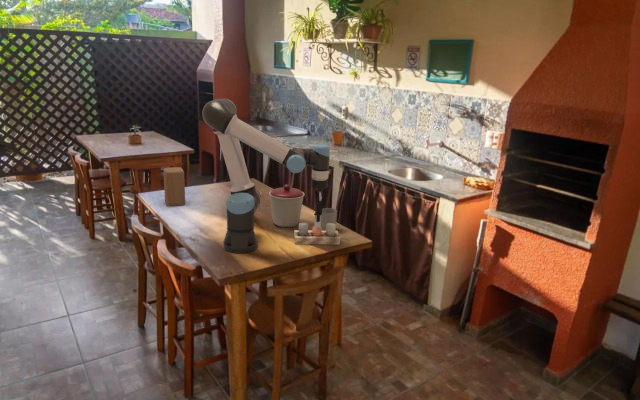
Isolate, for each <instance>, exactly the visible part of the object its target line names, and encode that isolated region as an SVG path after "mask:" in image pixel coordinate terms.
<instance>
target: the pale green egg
mask: <svg viewBox="0 0 640 400" xmlns="http://www.w3.org/2000/svg"><path fill="white" fill-rule="evenodd" d="M335 229H337V223H336V224H334V223H327V224H326V235H327V236H335Z"/></svg>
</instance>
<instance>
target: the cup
mask: <svg viewBox="0 0 640 400" xmlns="http://www.w3.org/2000/svg"><path fill="white" fill-rule="evenodd" d="M337 217H338V210H337V209H335V208H330V207H329V208H328V207H325V208H323V207H322V215H321V226H320V227H322V231H326V224H327V223H334V224H336V225H337ZM336 229H337V228H336ZM336 229H335V230H336ZM336 231H337V230H336Z"/></svg>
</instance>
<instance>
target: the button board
mask: <svg viewBox="0 0 640 400" xmlns="http://www.w3.org/2000/svg"><path fill="white" fill-rule="evenodd" d="M293 233H294V234H293V239H294V244H295V245H339V244H341V237H340V234H339V231H338V230H336V231H335V236H327V235H326V231H322V235H321V236H312V229H311V230H310V229H308V235H306V236H301V235H299V229H298V230H297V229H294V230H293Z"/></svg>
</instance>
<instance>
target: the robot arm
mask: <svg viewBox="0 0 640 400" xmlns="http://www.w3.org/2000/svg"><path fill="white" fill-rule="evenodd" d="M201 113H202V114H201V115H202V116H201V117H202V119H203V121H204V123H205V124H206V125H207V126H209V127H210V128H211V129H212V132H213V134H215V135H216V136H217V138H218V141H219V144H220V148H221V151H222V155H223V159H224V163H225V166H226V171H227V174H228V176H229V177H228V178H229V180H230V184H231V188H229V192H230V195H229V196H228V198H227V199H226V232H225V236H224V237H223V238H224V239H223V243H222V247H223V249H224V250H225V251H226V252H229V253H233V254H244V253H245V254H246V253H250V252H254V251H255V250H257V248H258V243H259V242H258V239H257V236H256V233H255V229H254V228H255V215H256V213H257V210H258V209H259V207H260V205H261V195H260V193H259V192H258V190H257V189H256V185H255V183H254V182H253V181H251V179H250V176H249V175H250V174H249V172H248V168H247V165H246V162H245V161H246V160H245V156H244V153H243V149H242V145H241V143H240V142H242V143H243V144H245V145H247V146H249V147H251V148H253V149H254V150H256V151H258V152H259V153H261V154H263V155H265V156H267V157H268V158H270V159H272V160H274V161H276V162H278V163H280V164H281V165H282V166H284V167H285V168H287V169H288V171H289V172H290V173H293V174H298V173H299V174H300V173H301V172H302V171H304V169H305V167H306V166H311V178H312V179H311V183H310V184H311V188H313V189H314V213H313V215H314V226H313V227H315V228H320V226H321V215H322V209H323V206H324V205H323V203H324V196H325V192H324V189H327V188H328V187H329V175H330V171H329V170H330V155H331V154H330V151H331V148H330V146H329V145H327V144H323V143H322V144H321V143H319V144H314V145H313V147H312V148H301V147H300V148H298V147H288V146H287V145H285V144H283V143H281V142H279V141H278V140H276V139H275V138H274V137H271V136H269V135H267V134H266V133H264V132H262V131H261V130H259V129H257V128H255V127H253V126H252V125H250V124H248V123H246V122H245V121H243V120H242V119H240V118H238V109H237V107H236V104H234V101H232V100H230V99H228V98H225V97H224V98H223V97H221V98H216V99H213V100H210V101H208V102H206V103H205V104H204V105H203V108H202V112H201Z"/></svg>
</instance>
